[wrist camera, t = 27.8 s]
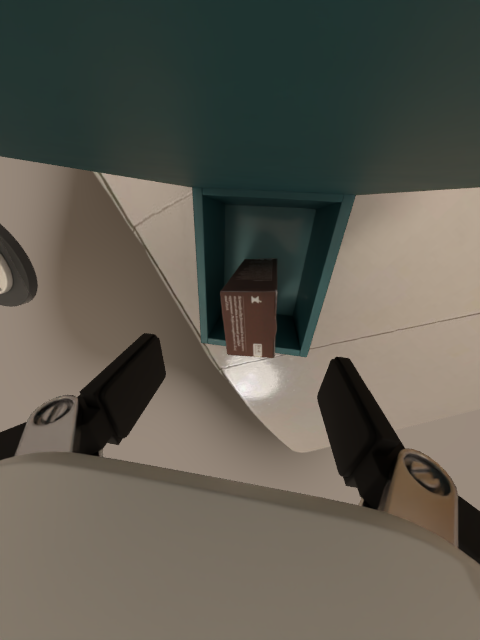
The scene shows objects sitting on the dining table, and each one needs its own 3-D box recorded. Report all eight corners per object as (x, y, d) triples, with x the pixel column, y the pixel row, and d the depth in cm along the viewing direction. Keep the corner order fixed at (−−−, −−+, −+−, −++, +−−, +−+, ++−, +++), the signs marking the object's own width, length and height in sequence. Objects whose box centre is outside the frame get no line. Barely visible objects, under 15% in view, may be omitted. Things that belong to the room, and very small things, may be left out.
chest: (296, 318, 27) (306, 357, 19) (219, 309, 28) (201, 343, 20) (323, 201, 20) (358, 188, 12) (220, 196, 21) (191, 181, 13)
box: (241, 258, 23) (217, 289, 13) (277, 257, 22) (283, 289, 12) (243, 302, 26) (225, 357, 15) (275, 302, 25) (279, 360, 15)
